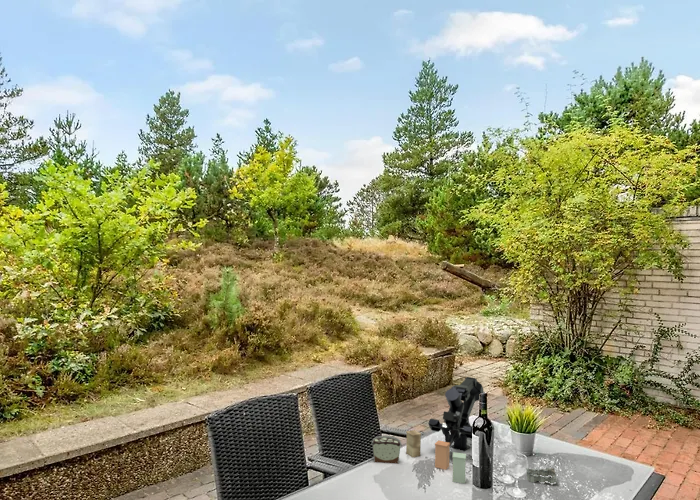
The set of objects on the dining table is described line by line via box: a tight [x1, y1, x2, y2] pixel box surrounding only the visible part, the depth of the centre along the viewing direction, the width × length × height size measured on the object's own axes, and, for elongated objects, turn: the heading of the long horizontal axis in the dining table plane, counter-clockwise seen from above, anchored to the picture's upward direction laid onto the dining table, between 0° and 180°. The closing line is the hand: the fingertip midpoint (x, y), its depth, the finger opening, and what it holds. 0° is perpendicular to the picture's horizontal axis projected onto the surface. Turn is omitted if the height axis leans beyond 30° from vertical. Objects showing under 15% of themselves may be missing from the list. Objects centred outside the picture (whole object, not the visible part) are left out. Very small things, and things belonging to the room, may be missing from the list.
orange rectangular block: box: [434, 440, 451, 471], centre depth 180 cm, size 4×5×9 cm
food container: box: [370, 435, 403, 465], centre depth 185 cm, size 12×6×10 cm, turn 84°
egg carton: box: [525, 467, 558, 483], centre depth 173 cm, size 11×8×4 cm
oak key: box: [405, 429, 422, 459], centre depth 190 cm, size 4×5×9 cm
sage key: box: [451, 451, 467, 484], centre depth 169 cm, size 4×5×9 cm
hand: (446, 447), depth 185 cm, fingers closed
